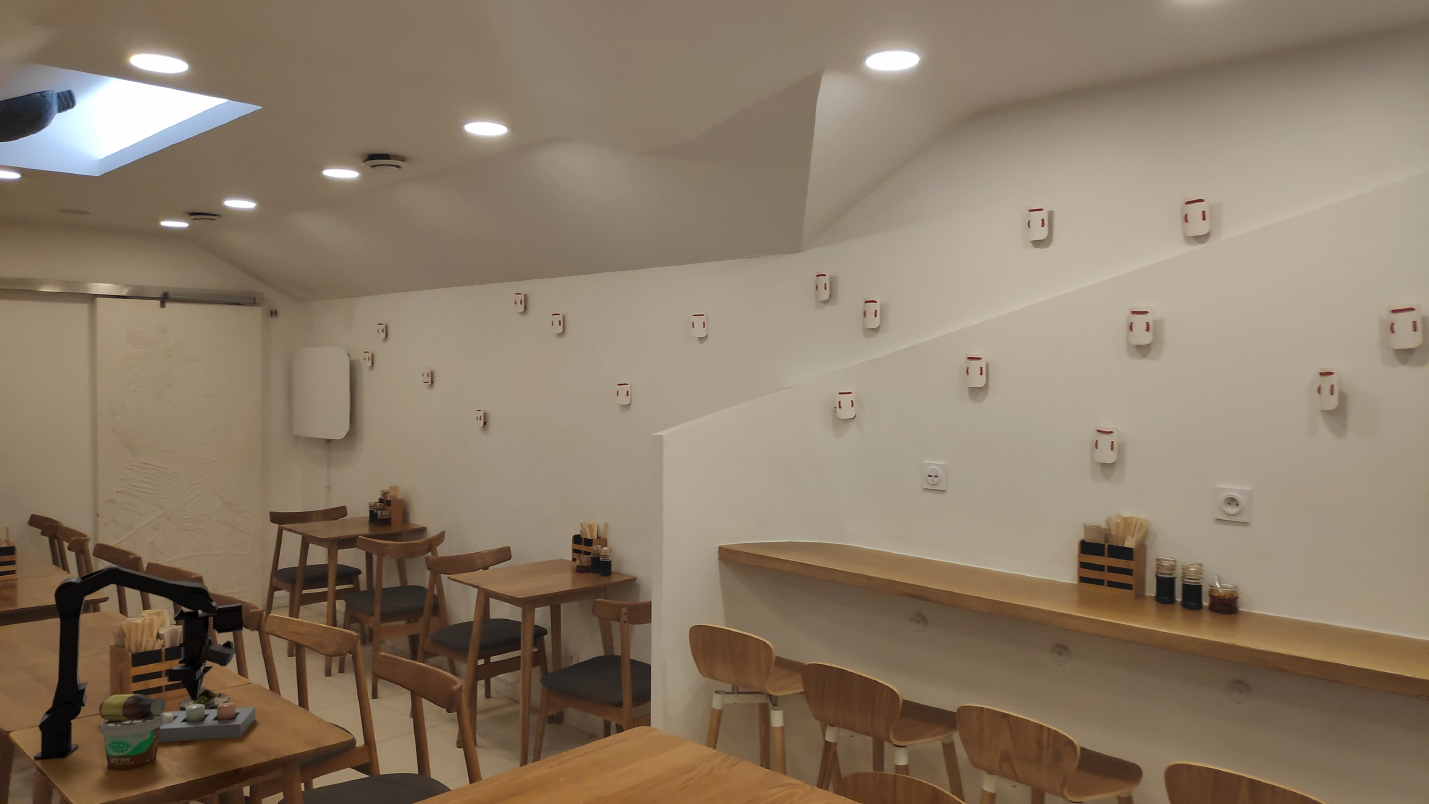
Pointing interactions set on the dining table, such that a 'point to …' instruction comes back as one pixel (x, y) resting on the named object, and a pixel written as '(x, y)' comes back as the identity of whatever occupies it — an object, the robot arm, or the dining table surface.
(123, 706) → the sauce bottle
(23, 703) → the dining table surface
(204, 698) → the burger
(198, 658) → the robot arm
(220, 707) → the terracotta button
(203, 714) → the sage button
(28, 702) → the dining table surface
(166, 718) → the cream button
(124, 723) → the food container
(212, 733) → the panel
